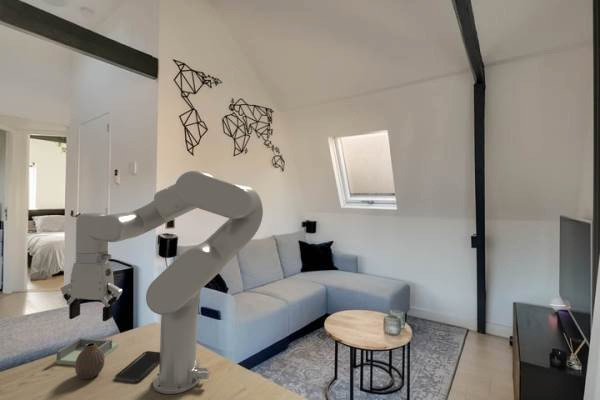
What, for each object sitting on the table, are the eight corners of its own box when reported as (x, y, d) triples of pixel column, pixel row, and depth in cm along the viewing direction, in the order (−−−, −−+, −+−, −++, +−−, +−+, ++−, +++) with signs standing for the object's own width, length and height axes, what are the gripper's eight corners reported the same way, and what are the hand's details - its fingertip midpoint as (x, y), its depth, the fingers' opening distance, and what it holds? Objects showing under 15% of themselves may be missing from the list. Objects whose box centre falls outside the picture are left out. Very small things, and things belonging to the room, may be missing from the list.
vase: (89, 384, 85) (90, 352, 85) (68, 380, 86) (69, 348, 86) (110, 370, 92) (110, 340, 91) (89, 366, 93) (90, 337, 93)
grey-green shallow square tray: (117, 346, 105) (118, 335, 105) (91, 366, 93) (92, 354, 93) (86, 344, 106) (86, 333, 106) (56, 363, 94) (56, 351, 94)
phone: (112, 377, 87) (145, 350, 102) (112, 381, 87) (145, 354, 102) (139, 381, 86) (168, 353, 101) (139, 385, 86) (168, 356, 101)
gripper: (130, 256, 91) (128, 315, 92) (73, 253, 92) (72, 311, 93) (112, 262, 84) (111, 325, 84) (51, 258, 85) (50, 321, 85)
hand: (91, 318), depth 89 cm, fingers open, 9 cm apart
